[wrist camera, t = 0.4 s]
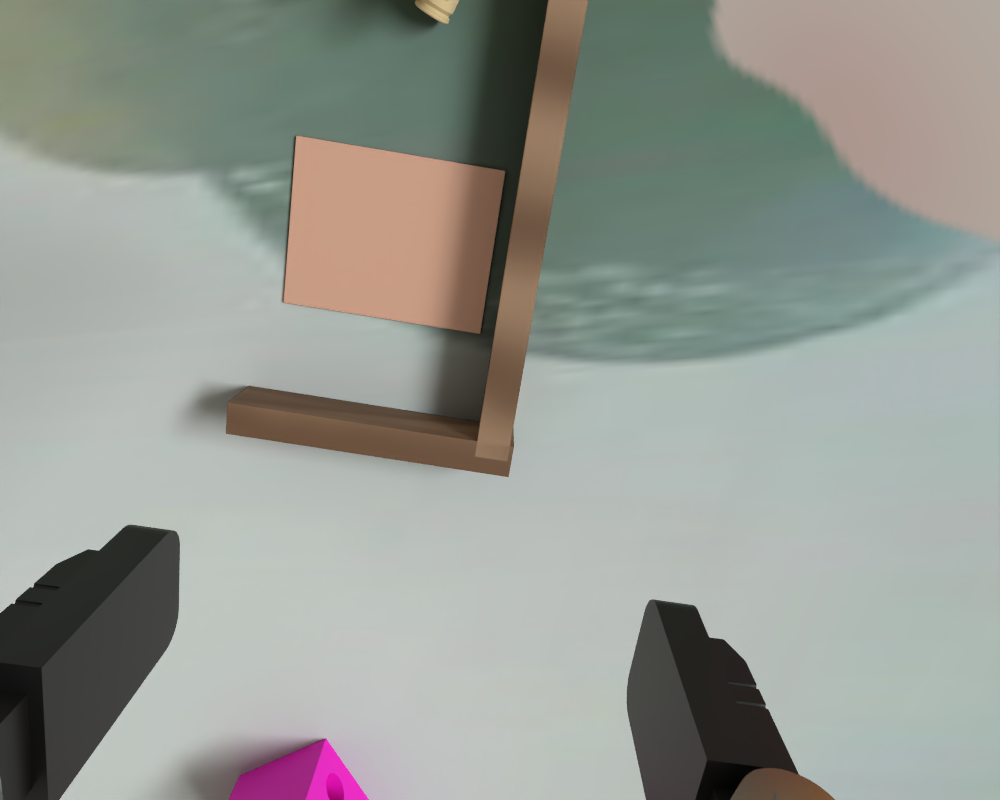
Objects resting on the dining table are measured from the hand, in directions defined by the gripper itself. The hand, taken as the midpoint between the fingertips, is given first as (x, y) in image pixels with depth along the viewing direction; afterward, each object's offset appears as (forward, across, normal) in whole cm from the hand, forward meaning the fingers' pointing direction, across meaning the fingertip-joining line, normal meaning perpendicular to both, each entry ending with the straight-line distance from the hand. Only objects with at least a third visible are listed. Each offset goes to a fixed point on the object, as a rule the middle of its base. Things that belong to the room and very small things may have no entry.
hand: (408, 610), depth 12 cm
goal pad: (+26, +5, -3) cm, 26 cm away
